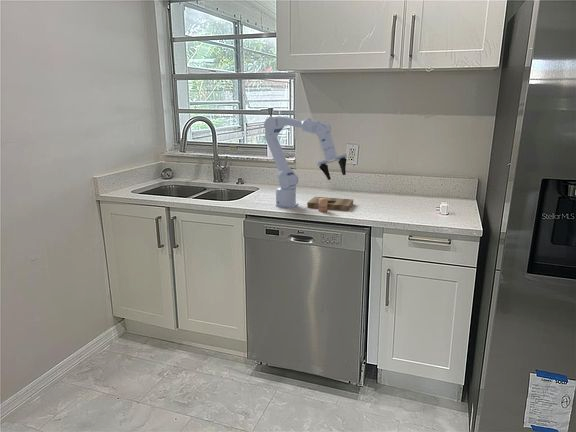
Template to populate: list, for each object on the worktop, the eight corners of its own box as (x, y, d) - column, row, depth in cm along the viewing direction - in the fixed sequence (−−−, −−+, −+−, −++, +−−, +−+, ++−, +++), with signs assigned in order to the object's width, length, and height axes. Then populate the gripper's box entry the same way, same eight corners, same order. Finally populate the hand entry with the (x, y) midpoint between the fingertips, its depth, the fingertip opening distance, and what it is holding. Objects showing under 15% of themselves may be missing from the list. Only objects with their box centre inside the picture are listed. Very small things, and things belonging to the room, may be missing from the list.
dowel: (317, 211, 200) (317, 199, 198) (319, 209, 203) (320, 197, 202) (326, 212, 198) (326, 200, 197) (328, 210, 202) (328, 198, 200)
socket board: (307, 207, 208) (307, 202, 207) (314, 201, 221) (314, 196, 220) (347, 210, 202) (348, 205, 201) (353, 204, 214) (353, 199, 214)
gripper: (316, 151, 189) (325, 181, 190) (346, 143, 192) (354, 172, 194) (312, 153, 196) (320, 182, 197) (340, 145, 199) (348, 173, 201)
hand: (336, 177), depth 196 cm, fingers open, 7 cm apart
